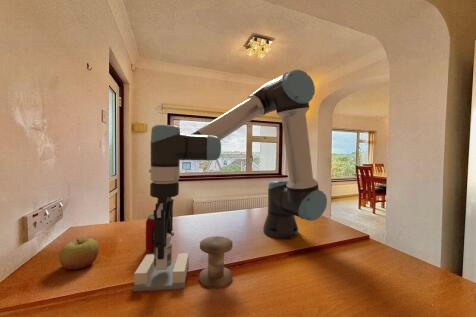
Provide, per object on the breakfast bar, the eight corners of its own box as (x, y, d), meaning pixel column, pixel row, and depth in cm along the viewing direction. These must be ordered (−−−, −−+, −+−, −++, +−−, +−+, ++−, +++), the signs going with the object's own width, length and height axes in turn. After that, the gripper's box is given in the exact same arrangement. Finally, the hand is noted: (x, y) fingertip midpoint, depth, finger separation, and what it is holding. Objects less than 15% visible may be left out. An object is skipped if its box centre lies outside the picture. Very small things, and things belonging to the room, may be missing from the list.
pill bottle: (157, 260, 63) (158, 231, 63) (173, 261, 63) (174, 232, 63) (150, 269, 58) (151, 238, 58) (168, 270, 58) (168, 239, 58)
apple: (65, 260, 68) (65, 235, 68) (101, 255, 72) (101, 231, 72) (53, 277, 59) (53, 248, 59) (95, 270, 63) (95, 243, 63)
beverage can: (159, 254, 73) (159, 219, 72) (141, 252, 74) (141, 218, 74) (169, 246, 79) (169, 214, 79) (153, 244, 81) (153, 212, 80)
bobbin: (230, 268, 65) (231, 236, 65) (233, 287, 56) (233, 249, 56) (200, 269, 64) (200, 236, 64) (198, 289, 55) (198, 250, 55)
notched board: (188, 264, 67) (189, 251, 67) (183, 288, 55) (183, 273, 55) (147, 265, 66) (147, 252, 66) (132, 291, 54) (133, 275, 54)
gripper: (158, 177, 68) (157, 249, 69) (139, 186, 50) (138, 284, 51) (183, 177, 69) (181, 249, 70) (172, 187, 51) (171, 282, 52)
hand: (163, 263), depth 61 cm, fingers closed on pill bottle, 5 cm apart
